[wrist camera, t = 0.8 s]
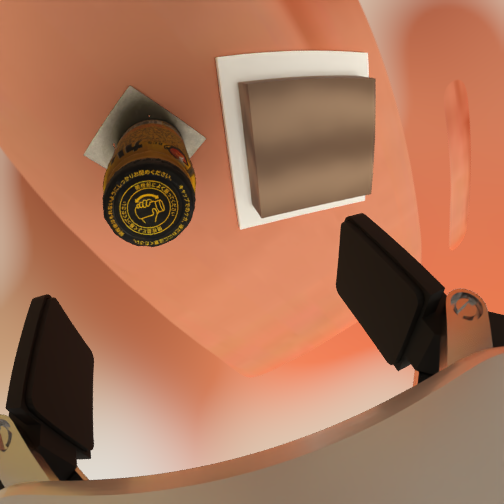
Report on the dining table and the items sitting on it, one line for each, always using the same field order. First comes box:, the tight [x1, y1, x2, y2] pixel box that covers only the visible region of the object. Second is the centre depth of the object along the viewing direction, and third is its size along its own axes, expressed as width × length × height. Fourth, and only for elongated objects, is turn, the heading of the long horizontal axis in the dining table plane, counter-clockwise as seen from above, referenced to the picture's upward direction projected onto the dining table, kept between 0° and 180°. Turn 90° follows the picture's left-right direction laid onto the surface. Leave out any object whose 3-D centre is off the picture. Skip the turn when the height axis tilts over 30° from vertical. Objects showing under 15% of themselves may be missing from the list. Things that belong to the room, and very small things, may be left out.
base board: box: [215, 51, 369, 230], centre depth 28 cm, size 17×15×1 cm
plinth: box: [238, 75, 376, 218], centre depth 27 cm, size 12×12×3 cm
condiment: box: [84, 86, 206, 247], centre depth 20 cm, size 7×8×12 cm
